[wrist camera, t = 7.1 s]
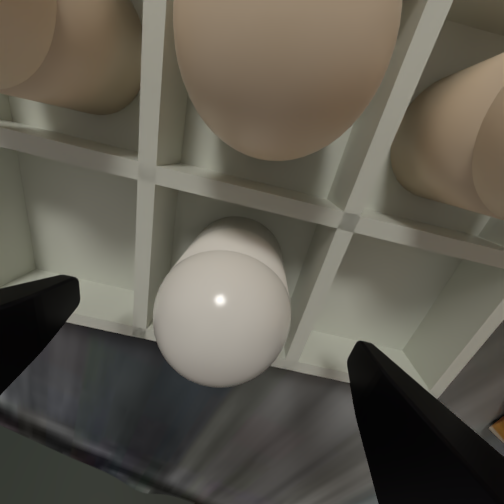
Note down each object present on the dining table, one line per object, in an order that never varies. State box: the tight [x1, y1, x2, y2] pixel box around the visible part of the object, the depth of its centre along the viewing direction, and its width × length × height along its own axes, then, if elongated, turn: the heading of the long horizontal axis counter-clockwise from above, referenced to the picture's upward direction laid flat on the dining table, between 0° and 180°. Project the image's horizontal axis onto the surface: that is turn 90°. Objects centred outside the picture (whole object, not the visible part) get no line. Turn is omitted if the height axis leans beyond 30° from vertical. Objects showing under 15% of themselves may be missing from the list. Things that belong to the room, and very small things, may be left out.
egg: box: [153, 216, 291, 387], centre depth 9 cm, size 4×4×6 cm
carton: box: [0, 0, 504, 399], centre depth 7 cm, size 22×15×7 cm
